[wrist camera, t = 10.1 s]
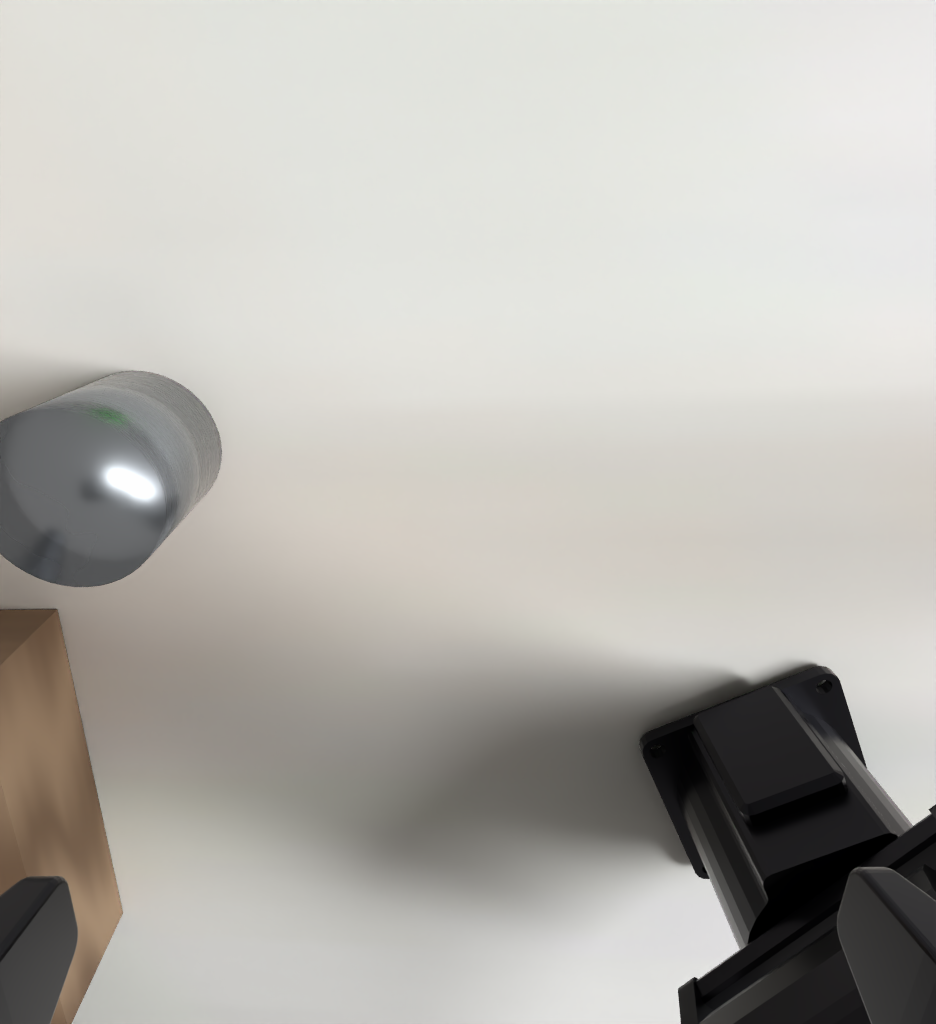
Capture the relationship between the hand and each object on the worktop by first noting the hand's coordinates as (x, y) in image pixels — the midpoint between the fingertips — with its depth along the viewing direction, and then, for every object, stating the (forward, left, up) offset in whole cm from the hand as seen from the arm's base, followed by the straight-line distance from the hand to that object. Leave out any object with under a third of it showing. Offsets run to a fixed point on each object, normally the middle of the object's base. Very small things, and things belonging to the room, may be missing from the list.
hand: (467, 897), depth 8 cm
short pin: (+5, +7, -13) cm, 15 cm away
